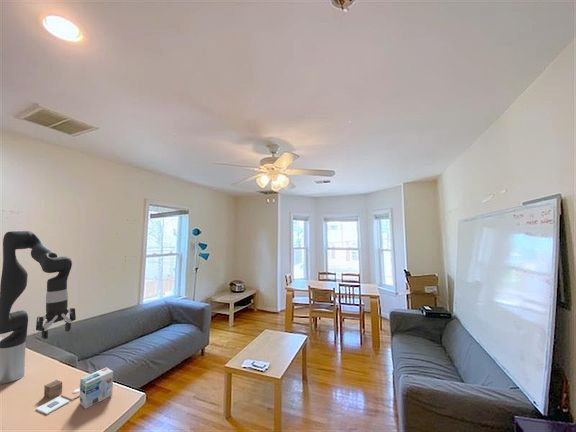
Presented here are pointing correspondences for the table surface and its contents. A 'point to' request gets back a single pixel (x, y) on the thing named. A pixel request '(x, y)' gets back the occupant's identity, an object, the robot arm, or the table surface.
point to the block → (53, 389)
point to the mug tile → (72, 393)
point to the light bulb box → (96, 387)
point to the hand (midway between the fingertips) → (56, 334)
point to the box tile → (52, 405)
